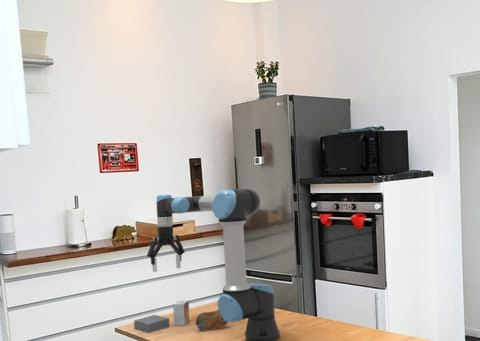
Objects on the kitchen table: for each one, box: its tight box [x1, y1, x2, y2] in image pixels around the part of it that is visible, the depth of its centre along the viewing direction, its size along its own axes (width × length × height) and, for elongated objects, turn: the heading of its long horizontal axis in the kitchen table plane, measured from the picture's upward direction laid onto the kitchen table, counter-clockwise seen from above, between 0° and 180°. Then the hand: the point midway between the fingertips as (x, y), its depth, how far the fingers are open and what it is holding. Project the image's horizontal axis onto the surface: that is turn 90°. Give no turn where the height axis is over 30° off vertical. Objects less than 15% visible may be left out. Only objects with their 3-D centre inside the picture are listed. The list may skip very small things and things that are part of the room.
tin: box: [195, 309, 228, 332], centre depth 225 cm, size 15×3×8 cm, turn 105°
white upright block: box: [172, 300, 190, 327], centre depth 238 cm, size 8×6×10 cm
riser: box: [133, 314, 170, 334], centre depth 233 cm, size 12×12×4 cm
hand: (166, 269), depth 234 cm, fingers open, 13 cm apart
